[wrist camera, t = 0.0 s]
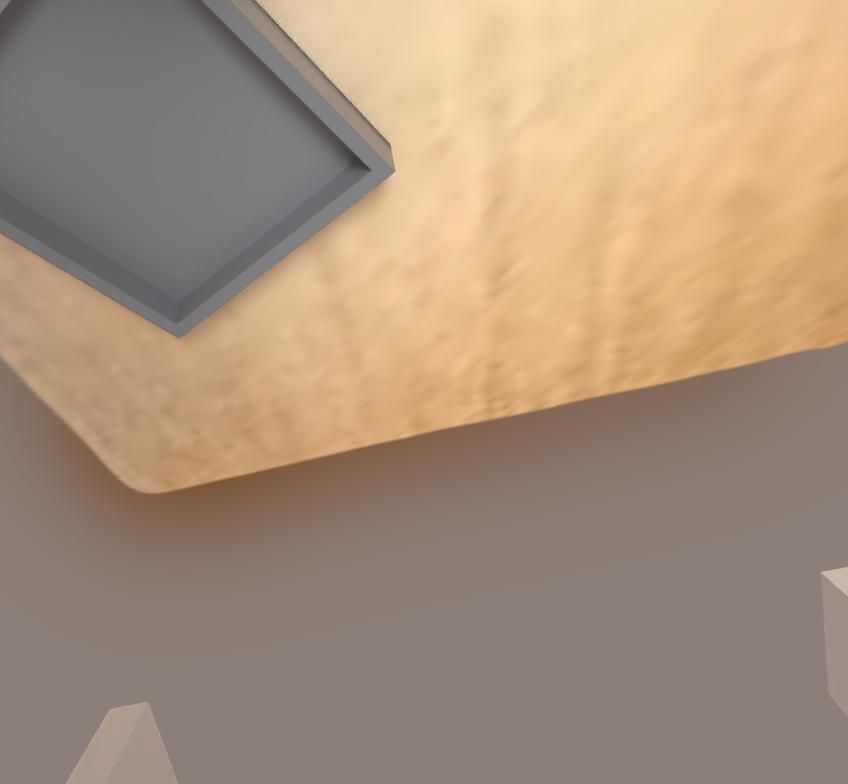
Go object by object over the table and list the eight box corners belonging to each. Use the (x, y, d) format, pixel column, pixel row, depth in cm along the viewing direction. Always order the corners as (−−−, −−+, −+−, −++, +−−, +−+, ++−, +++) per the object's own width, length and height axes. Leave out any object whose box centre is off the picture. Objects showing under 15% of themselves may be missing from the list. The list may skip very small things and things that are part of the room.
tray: (-120, 120, 39) (-140, 150, 37) (99, -167, 31) (87, -147, 29) (182, 309, 52) (179, 338, 50) (390, 144, 44) (395, 171, 42)
